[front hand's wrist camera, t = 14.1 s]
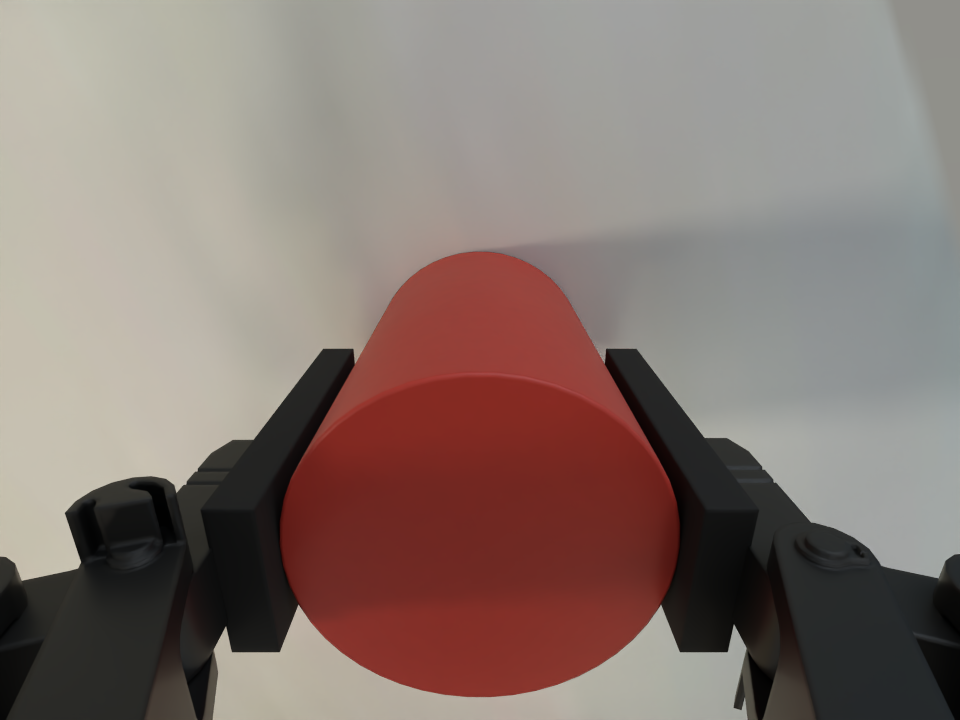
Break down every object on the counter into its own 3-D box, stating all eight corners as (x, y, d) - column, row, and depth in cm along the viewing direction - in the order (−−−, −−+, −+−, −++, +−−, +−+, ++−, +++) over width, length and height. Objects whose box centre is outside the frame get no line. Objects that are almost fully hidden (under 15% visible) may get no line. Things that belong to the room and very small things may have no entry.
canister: (421, 462, 19) (371, 730, 10) (346, 289, 17) (203, 446, 8) (602, 409, 18) (713, 651, 9) (549, 222, 16) (632, 313, 7)
